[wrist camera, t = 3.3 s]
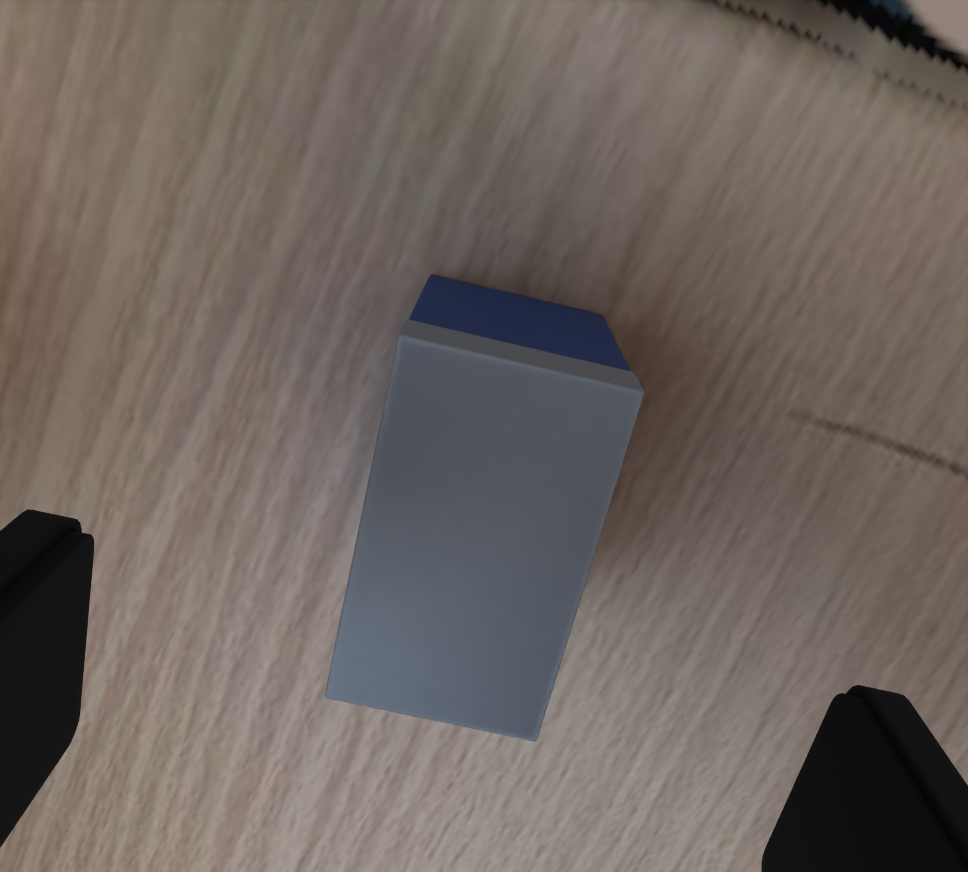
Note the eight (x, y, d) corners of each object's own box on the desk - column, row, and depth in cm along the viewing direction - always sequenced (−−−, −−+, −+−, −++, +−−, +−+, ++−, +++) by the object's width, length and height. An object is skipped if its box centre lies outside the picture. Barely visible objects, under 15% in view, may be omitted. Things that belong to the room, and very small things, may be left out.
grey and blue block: (605, 314, 20) (645, 391, 14) (528, 583, 22) (536, 742, 16) (429, 272, 19) (398, 334, 14) (370, 549, 22) (323, 698, 16)
